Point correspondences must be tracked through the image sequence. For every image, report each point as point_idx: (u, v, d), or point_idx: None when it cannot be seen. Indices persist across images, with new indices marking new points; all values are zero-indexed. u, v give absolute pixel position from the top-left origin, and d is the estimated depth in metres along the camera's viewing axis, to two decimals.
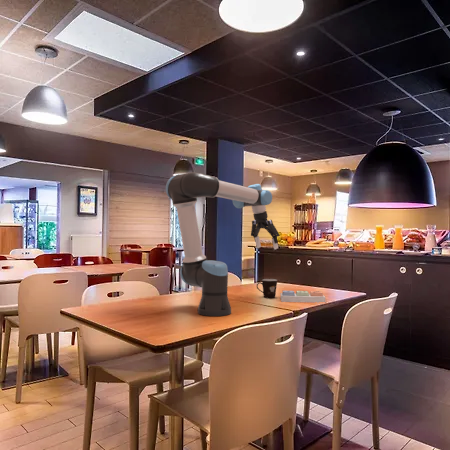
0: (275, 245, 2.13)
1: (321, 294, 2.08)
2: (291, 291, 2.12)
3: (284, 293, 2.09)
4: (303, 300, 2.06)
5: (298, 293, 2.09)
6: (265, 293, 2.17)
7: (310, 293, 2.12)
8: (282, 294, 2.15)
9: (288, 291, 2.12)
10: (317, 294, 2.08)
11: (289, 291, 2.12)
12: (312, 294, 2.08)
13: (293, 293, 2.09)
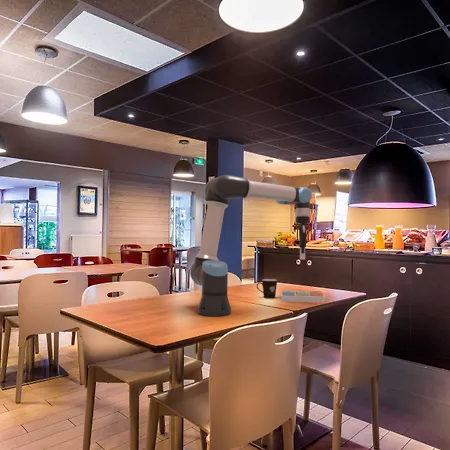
0: (301, 255, 2.11)
1: (321, 294, 2.08)
2: (291, 291, 2.12)
3: (284, 293, 2.09)
4: (303, 300, 2.06)
5: (298, 293, 2.09)
6: (265, 293, 2.17)
7: (310, 293, 2.12)
8: (282, 294, 2.15)
9: (288, 291, 2.12)
10: (317, 294, 2.08)
11: (289, 291, 2.12)
12: (312, 294, 2.08)
13: (293, 293, 2.09)
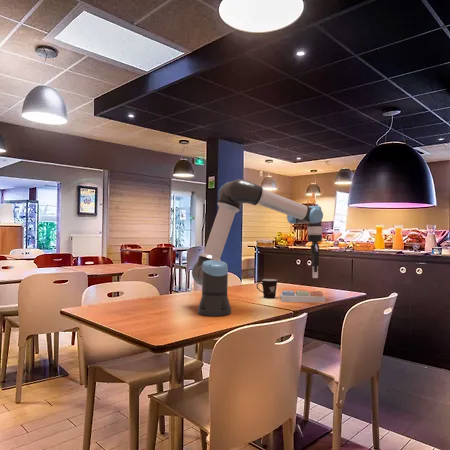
0: (314, 274, 2.11)
1: (321, 294, 2.08)
2: (291, 291, 2.12)
3: (284, 293, 2.09)
4: (303, 300, 2.06)
5: (298, 293, 2.09)
6: (265, 293, 2.17)
7: (310, 293, 2.12)
8: (282, 294, 2.15)
9: (288, 291, 2.12)
10: (317, 294, 2.08)
11: (289, 291, 2.12)
12: (312, 294, 2.08)
13: (293, 293, 2.09)
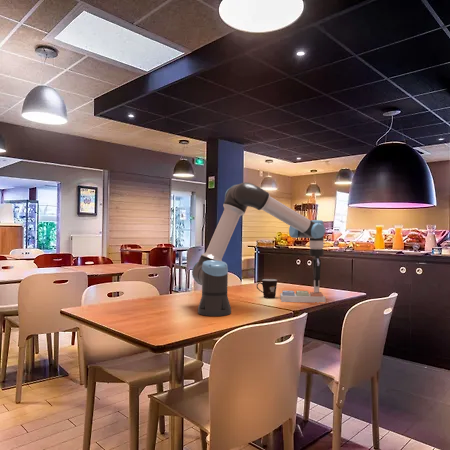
0: (315, 288, 2.10)
1: (321, 295, 2.08)
2: (291, 291, 2.12)
3: (284, 293, 2.09)
4: (303, 300, 2.06)
5: (298, 293, 2.09)
6: (265, 293, 2.17)
7: (310, 294, 2.12)
8: (282, 294, 2.15)
9: (288, 291, 2.12)
10: (317, 295, 2.08)
11: (289, 291, 2.12)
12: (312, 295, 2.08)
13: (293, 293, 2.09)
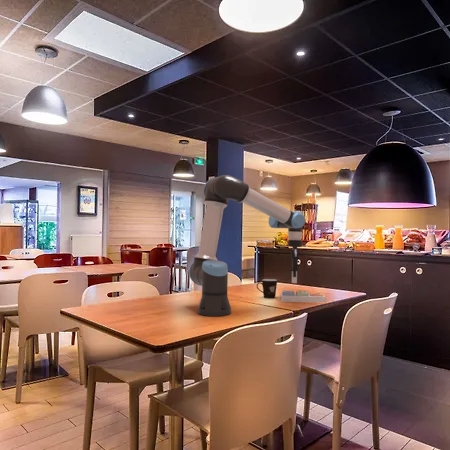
0: (293, 279, 2.11)
1: None
2: (291, 291, 2.12)
3: (284, 293, 2.09)
4: (303, 300, 2.06)
5: (298, 293, 2.09)
6: (265, 293, 2.17)
7: (310, 295, 2.12)
8: (282, 294, 2.15)
9: (288, 291, 2.12)
10: None
11: (289, 291, 2.12)
12: None
13: (293, 293, 2.09)
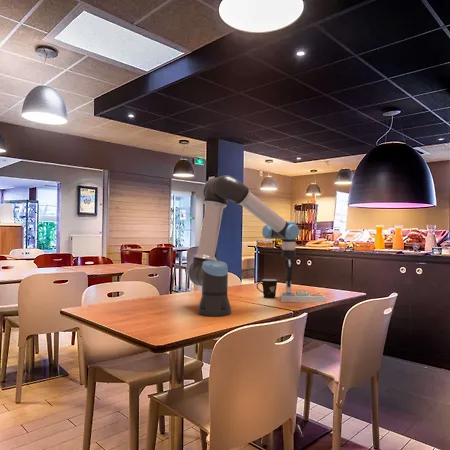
0: (287, 289, 2.11)
1: None
2: (291, 293, 2.12)
3: (284, 295, 2.09)
4: (303, 300, 2.06)
5: (298, 293, 2.09)
6: (265, 293, 2.17)
7: (310, 295, 2.12)
8: None
9: (288, 293, 2.12)
10: None
11: (289, 293, 2.12)
12: None
13: (293, 295, 2.09)
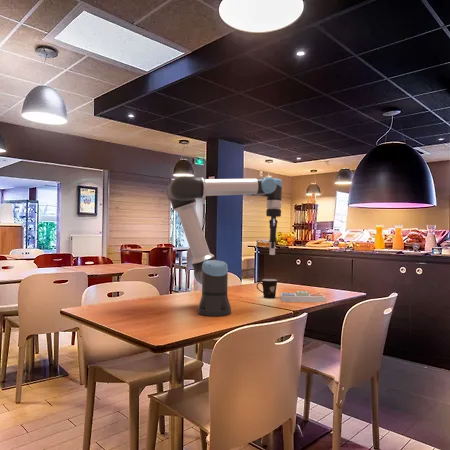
0: (271, 250, 1.99)
1: None
2: (291, 293, 2.12)
3: (284, 295, 2.09)
4: (303, 300, 2.06)
5: (298, 293, 2.09)
6: (265, 293, 2.17)
7: (310, 295, 2.12)
8: None
9: (288, 293, 2.12)
10: None
11: (289, 293, 2.12)
12: None
13: (293, 295, 2.09)
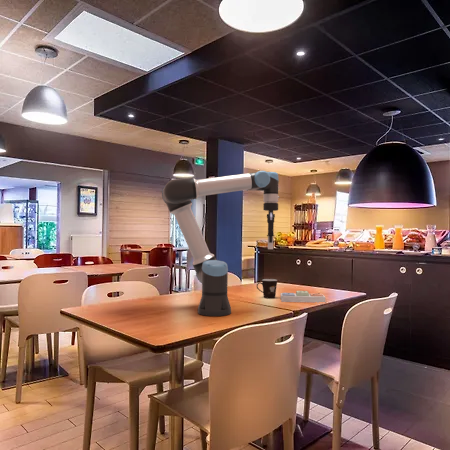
0: (269, 245, 1.97)
1: None
2: (291, 293, 2.12)
3: (284, 295, 2.09)
4: (303, 300, 2.06)
5: (298, 293, 2.09)
6: (265, 293, 2.17)
7: (310, 295, 2.12)
8: None
9: (288, 293, 2.12)
10: None
11: (289, 293, 2.12)
12: None
13: (293, 295, 2.09)
